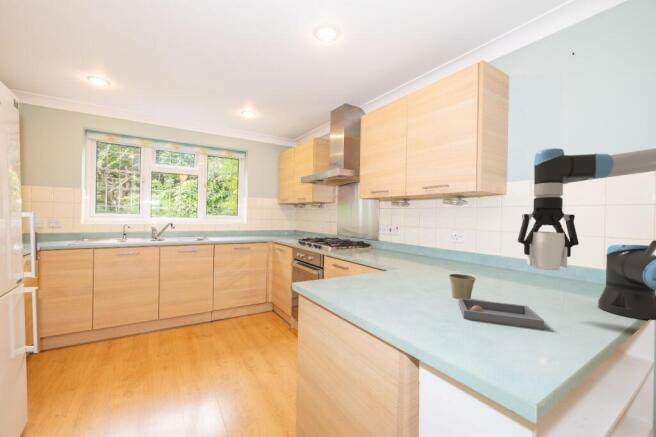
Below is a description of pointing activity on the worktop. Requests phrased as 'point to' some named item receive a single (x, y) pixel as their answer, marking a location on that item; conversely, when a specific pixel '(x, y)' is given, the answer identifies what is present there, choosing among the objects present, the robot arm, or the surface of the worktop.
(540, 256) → the cup
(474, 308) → the ball
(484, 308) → the tray
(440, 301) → the worktop surface
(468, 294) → the flower pot
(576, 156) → the robot arm
